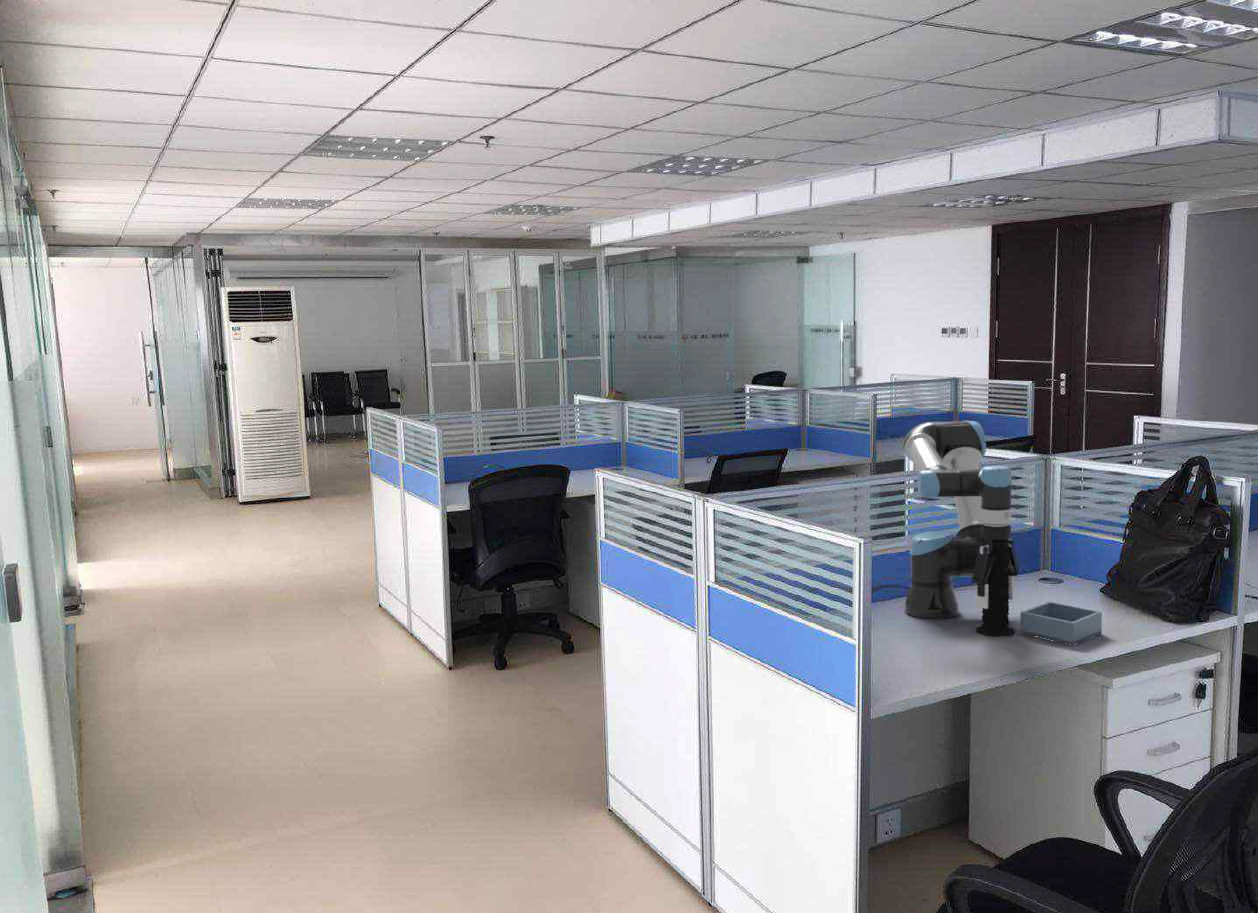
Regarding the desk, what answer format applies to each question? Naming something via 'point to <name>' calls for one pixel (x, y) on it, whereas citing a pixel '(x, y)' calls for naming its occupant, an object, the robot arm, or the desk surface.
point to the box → (1061, 623)
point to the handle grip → (997, 594)
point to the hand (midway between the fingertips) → (995, 603)
